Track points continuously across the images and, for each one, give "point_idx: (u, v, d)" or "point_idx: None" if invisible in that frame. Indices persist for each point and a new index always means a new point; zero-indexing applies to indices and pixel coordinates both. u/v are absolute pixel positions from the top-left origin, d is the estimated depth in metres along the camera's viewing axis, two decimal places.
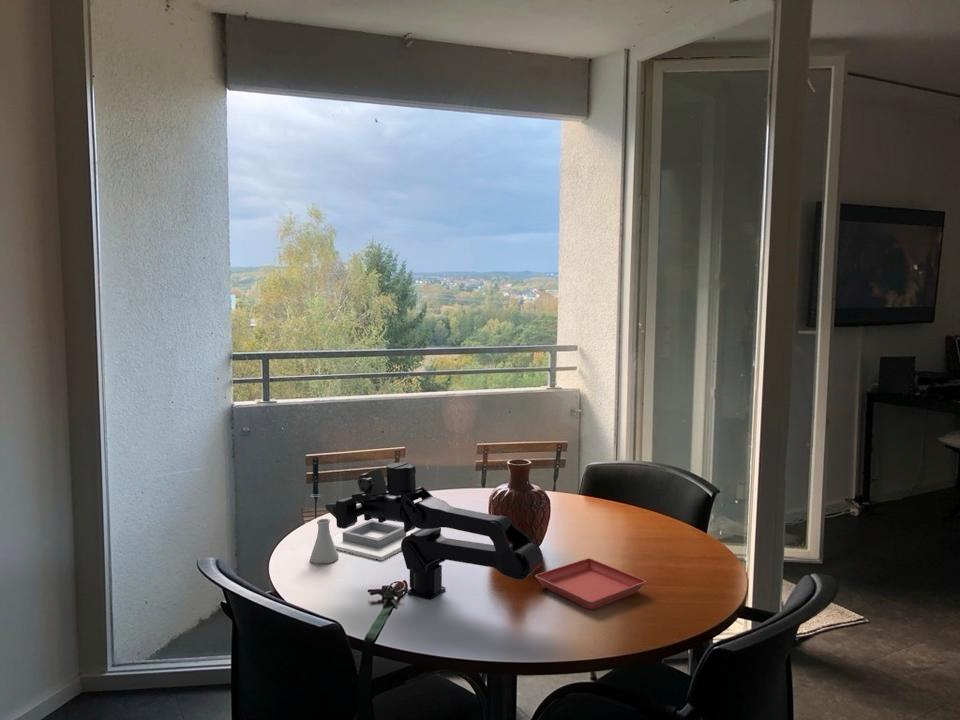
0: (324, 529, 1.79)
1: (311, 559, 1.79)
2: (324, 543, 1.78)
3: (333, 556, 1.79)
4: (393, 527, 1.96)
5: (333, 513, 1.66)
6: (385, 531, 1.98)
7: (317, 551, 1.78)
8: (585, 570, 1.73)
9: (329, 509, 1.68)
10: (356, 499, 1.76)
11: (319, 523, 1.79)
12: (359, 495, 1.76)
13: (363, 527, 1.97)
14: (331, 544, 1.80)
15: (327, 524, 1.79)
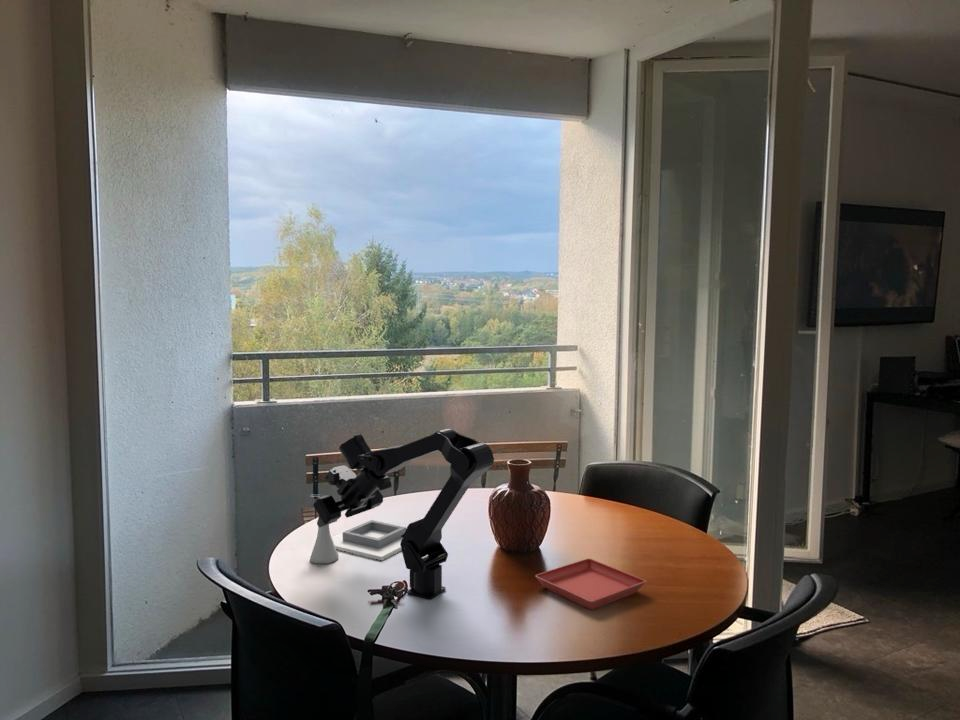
0: (324, 529, 1.79)
1: (311, 559, 1.79)
2: (324, 543, 1.78)
3: (333, 556, 1.79)
4: (393, 527, 1.96)
5: (323, 522, 1.71)
6: (385, 531, 1.98)
7: (317, 551, 1.78)
8: (585, 570, 1.73)
9: (320, 523, 1.73)
10: (349, 514, 1.81)
11: None
12: (349, 508, 1.81)
13: (363, 527, 1.97)
14: (331, 544, 1.80)
15: None
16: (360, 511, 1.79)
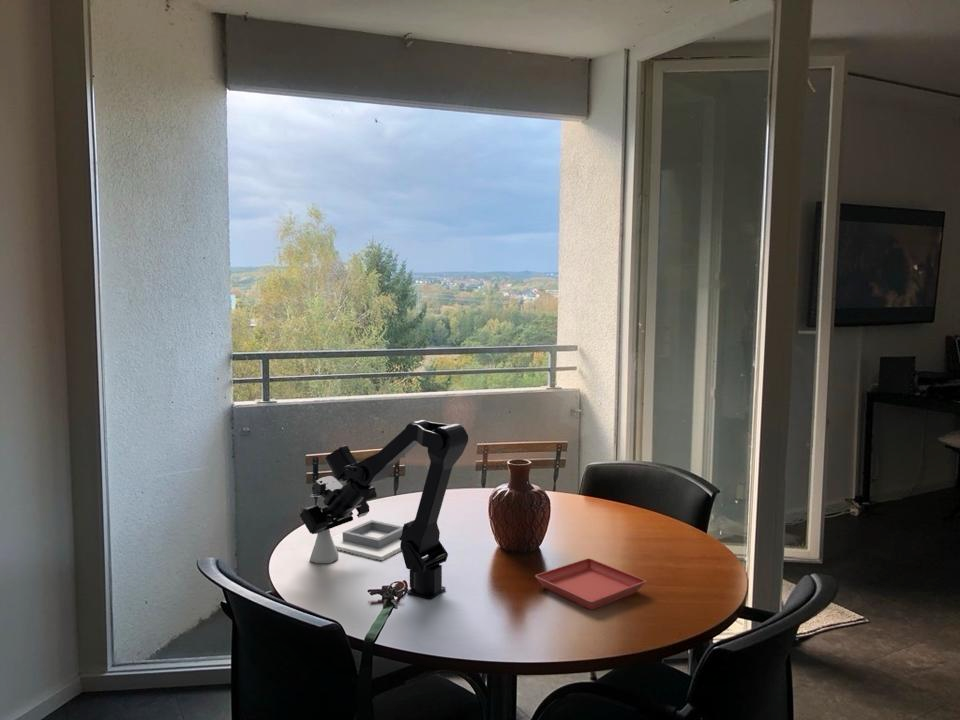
0: None
1: (311, 559, 1.79)
2: (324, 542, 1.78)
3: (333, 556, 1.79)
4: (393, 527, 1.96)
5: None
6: (385, 531, 1.98)
7: (317, 550, 1.78)
8: (585, 570, 1.73)
9: None
10: None
11: None
12: None
13: (363, 527, 1.97)
14: (331, 544, 1.80)
15: None
16: (338, 524, 1.80)
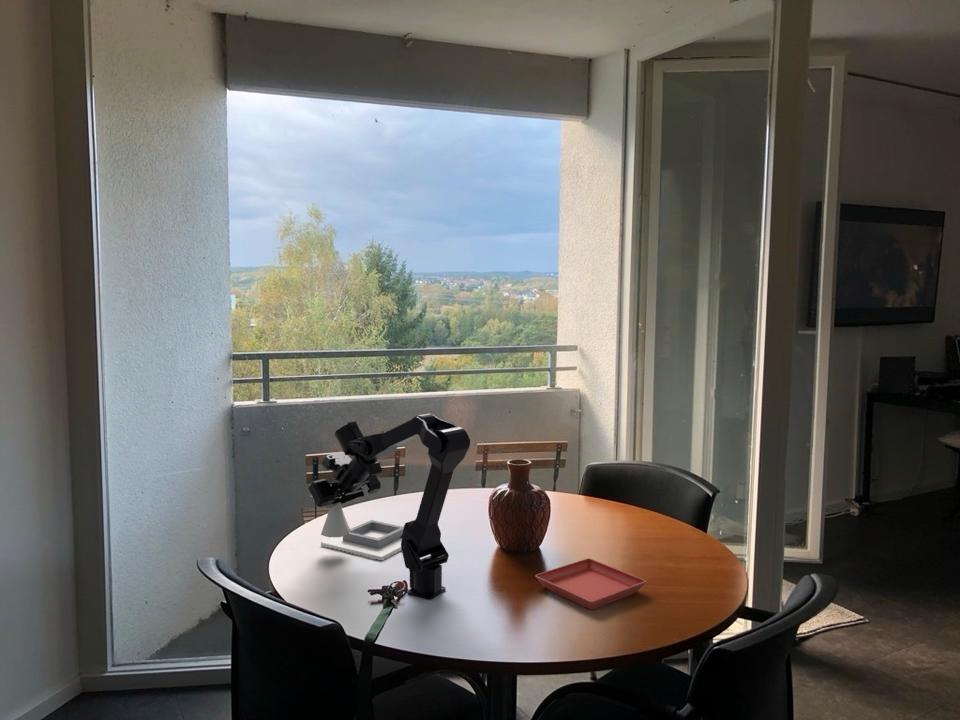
0: None
1: (322, 533, 1.82)
2: (334, 517, 1.82)
3: (343, 531, 1.82)
4: (393, 527, 1.96)
5: (330, 503, 1.80)
6: (385, 531, 1.98)
7: (328, 525, 1.82)
8: (585, 570, 1.73)
9: (328, 504, 1.82)
10: None
11: None
12: (340, 496, 1.84)
13: (363, 527, 1.97)
14: (342, 519, 1.83)
15: None
16: (349, 499, 1.82)
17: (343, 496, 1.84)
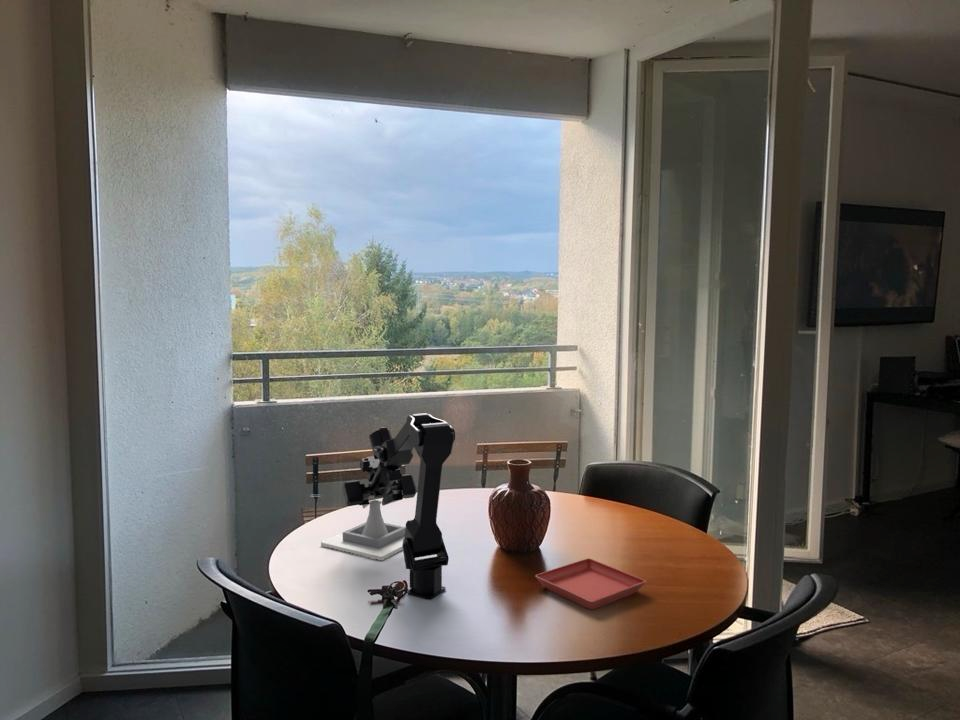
0: (373, 510, 1.91)
1: None
2: (372, 522, 1.91)
3: (379, 536, 1.91)
4: (393, 527, 1.96)
5: None
6: None
7: (366, 529, 1.92)
8: (585, 570, 1.73)
9: None
10: (383, 502, 1.94)
11: (369, 503, 1.92)
12: (384, 497, 1.94)
13: (363, 527, 1.97)
14: (379, 525, 1.91)
15: (376, 505, 1.91)
16: (389, 501, 1.91)
17: (386, 497, 1.93)
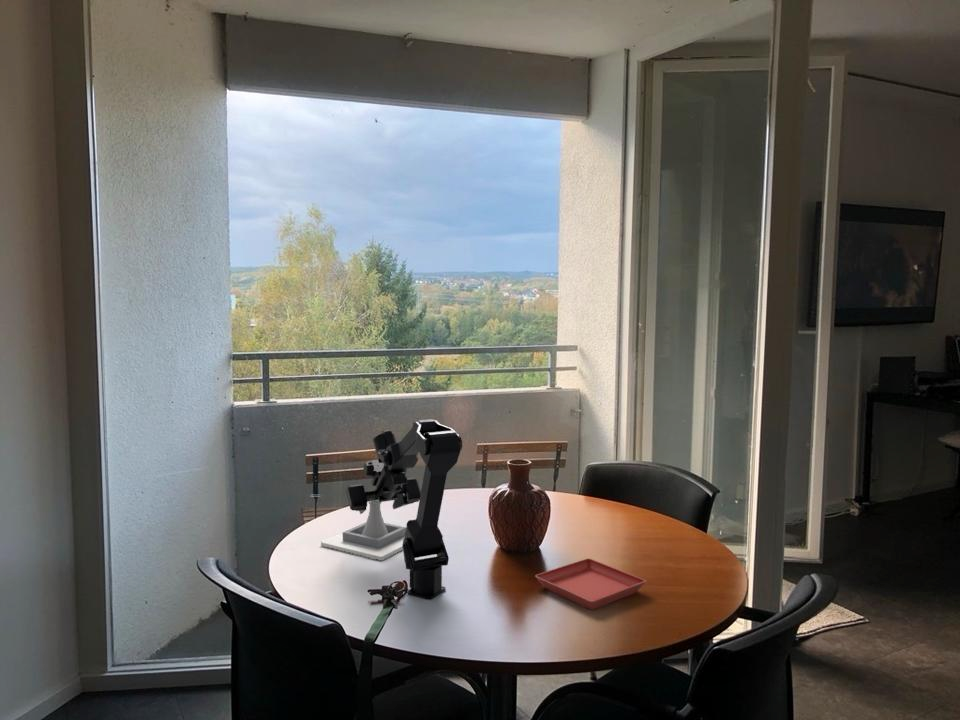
0: (373, 510, 1.91)
1: None
2: (372, 522, 1.91)
3: (379, 536, 1.91)
4: (393, 527, 1.96)
5: None
6: None
7: (366, 529, 1.92)
8: (585, 570, 1.73)
9: (359, 510, 1.87)
10: (394, 506, 1.92)
11: (369, 503, 1.92)
12: (394, 501, 1.92)
13: (363, 527, 1.97)
14: (379, 525, 1.91)
15: (376, 505, 1.91)
16: (400, 504, 1.89)
17: (397, 501, 1.91)
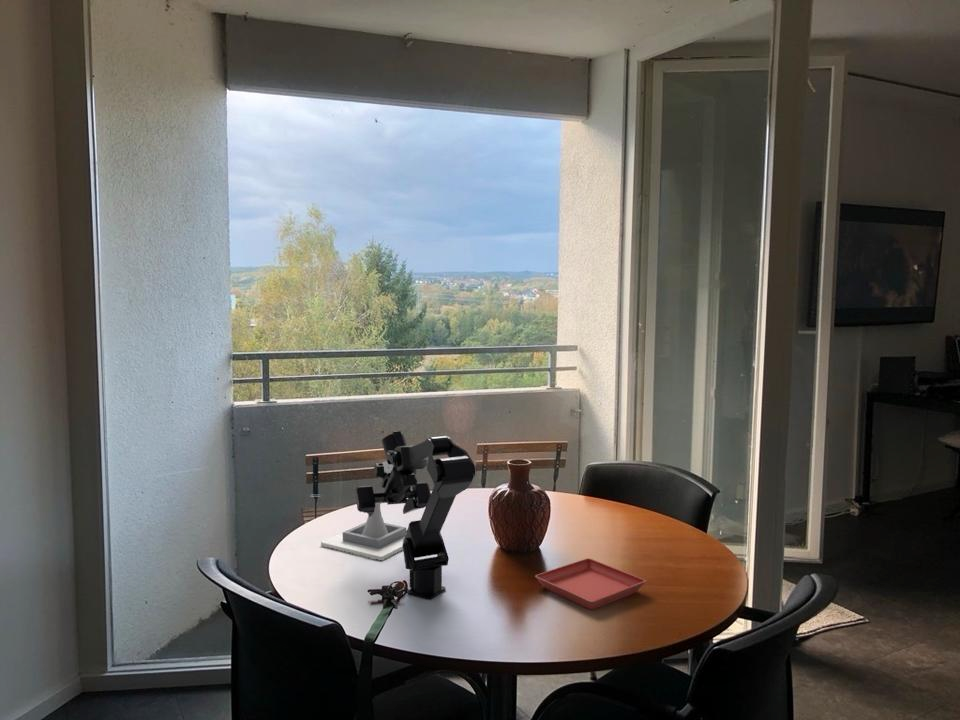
0: None
1: None
2: (372, 522, 1.91)
3: (379, 536, 1.91)
4: (393, 527, 1.96)
5: None
6: None
7: (366, 529, 1.92)
8: (585, 570, 1.73)
9: None
10: (404, 510, 1.86)
11: None
12: (405, 505, 1.86)
13: (363, 527, 1.97)
14: (379, 525, 1.91)
15: (376, 505, 1.91)
16: (410, 509, 1.83)
17: (407, 505, 1.85)
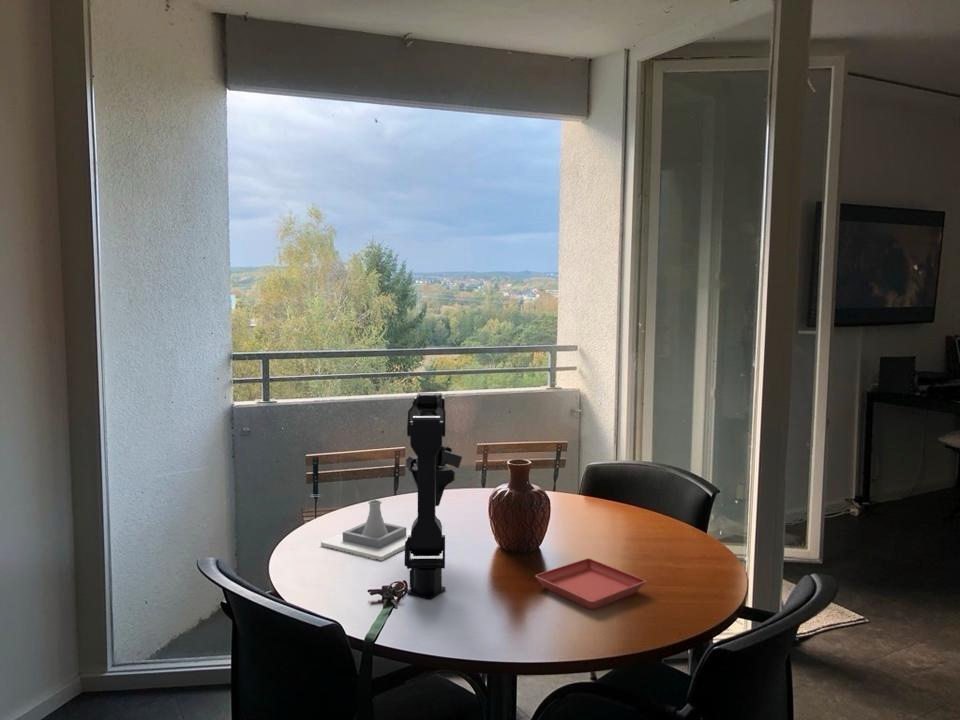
0: (373, 510, 1.91)
1: None
2: (372, 522, 1.91)
3: (379, 536, 1.91)
4: (393, 527, 1.96)
5: None
6: None
7: (366, 529, 1.92)
8: (585, 570, 1.73)
9: None
10: None
11: (369, 503, 1.92)
12: None
13: (363, 527, 1.97)
14: (379, 525, 1.91)
15: (376, 505, 1.91)
16: None
17: None
